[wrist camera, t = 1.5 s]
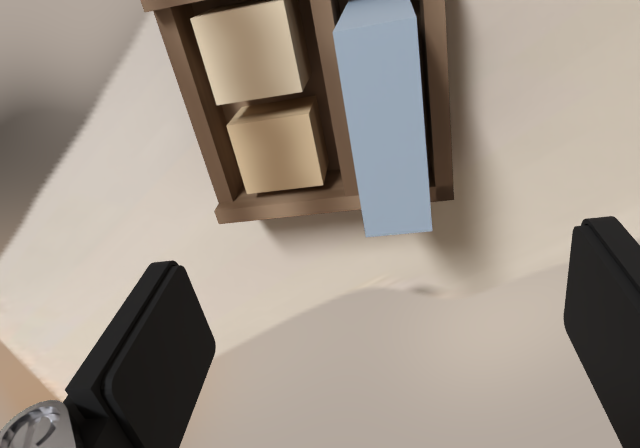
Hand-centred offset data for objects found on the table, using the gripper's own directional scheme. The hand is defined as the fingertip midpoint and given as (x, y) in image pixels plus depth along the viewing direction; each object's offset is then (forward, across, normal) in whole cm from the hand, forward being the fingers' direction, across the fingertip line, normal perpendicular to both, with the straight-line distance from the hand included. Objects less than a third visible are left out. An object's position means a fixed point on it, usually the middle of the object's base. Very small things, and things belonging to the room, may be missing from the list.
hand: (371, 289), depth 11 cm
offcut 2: (+20, +6, +3) cm, 21 cm away
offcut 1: (+20, +6, -3) cm, 21 cm away
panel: (+20, -1, 0) cm, 20 cm away
